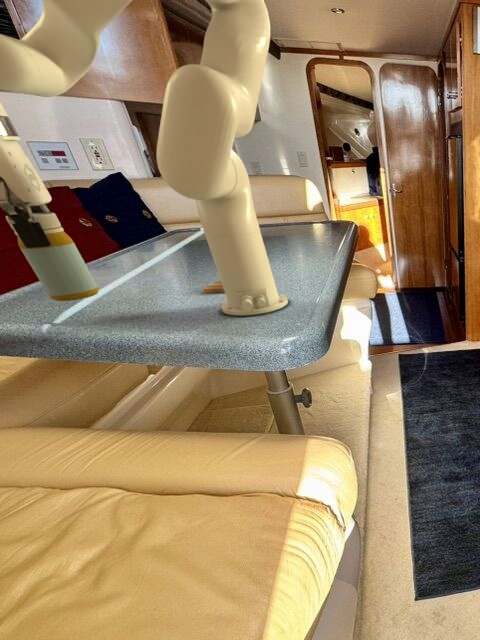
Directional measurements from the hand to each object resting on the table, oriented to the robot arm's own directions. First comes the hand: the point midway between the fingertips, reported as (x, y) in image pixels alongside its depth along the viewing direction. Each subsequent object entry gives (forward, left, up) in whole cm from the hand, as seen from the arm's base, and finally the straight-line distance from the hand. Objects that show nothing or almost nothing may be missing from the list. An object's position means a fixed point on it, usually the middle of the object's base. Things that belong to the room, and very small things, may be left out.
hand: (46, 242), depth 73 cm
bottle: (0, 0, -10) cm, 10 cm away
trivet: (+10, -25, -15) cm, 30 cm away
